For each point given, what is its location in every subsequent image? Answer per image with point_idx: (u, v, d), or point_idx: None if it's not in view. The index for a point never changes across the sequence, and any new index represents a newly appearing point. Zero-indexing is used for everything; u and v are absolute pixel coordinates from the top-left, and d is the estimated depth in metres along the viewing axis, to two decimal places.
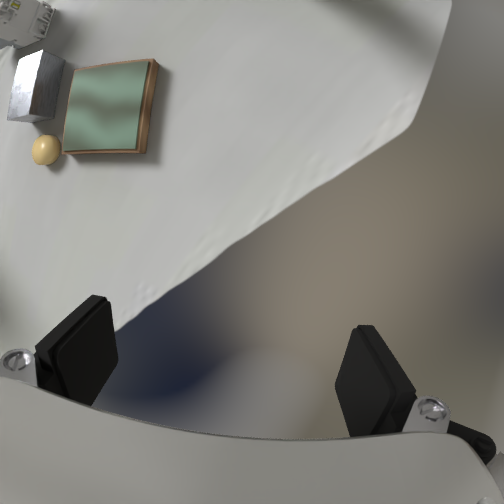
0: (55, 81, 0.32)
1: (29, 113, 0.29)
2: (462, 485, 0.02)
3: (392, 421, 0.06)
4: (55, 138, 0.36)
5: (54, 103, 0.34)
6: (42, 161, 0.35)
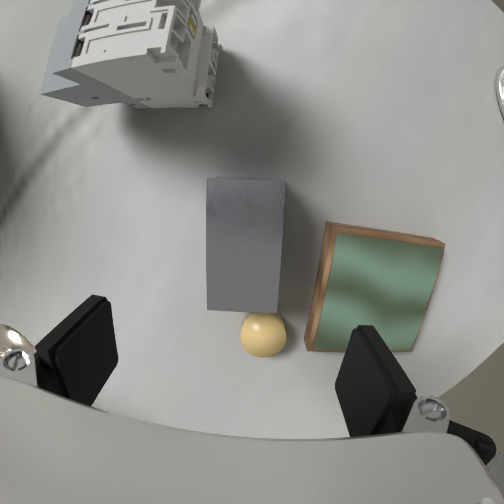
0: None
1: None
2: (462, 485, 0.02)
3: (392, 421, 0.06)
4: (280, 318, 0.31)
5: None
6: (263, 353, 0.31)
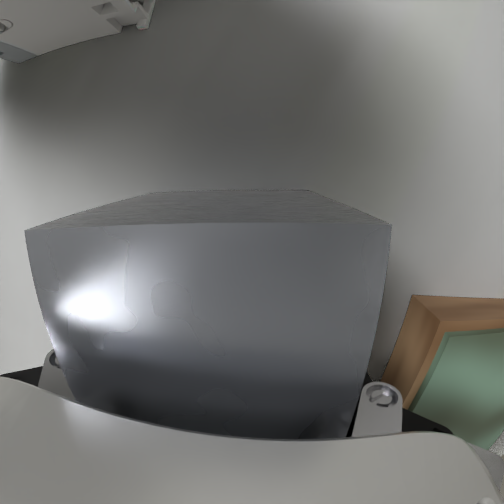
0: None
1: None
2: (462, 485, 0.02)
3: None
4: None
5: None
6: None
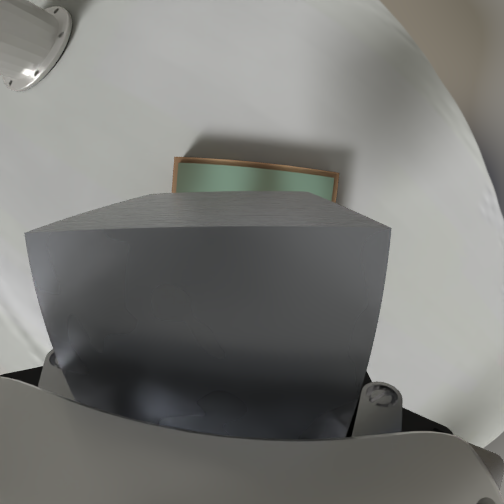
0: None
1: None
2: (462, 485, 0.02)
3: None
4: None
5: None
6: None
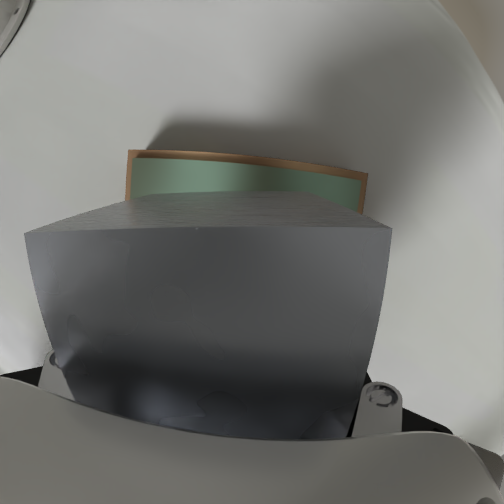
0: None
1: None
2: (462, 485, 0.02)
3: None
4: None
5: None
6: None
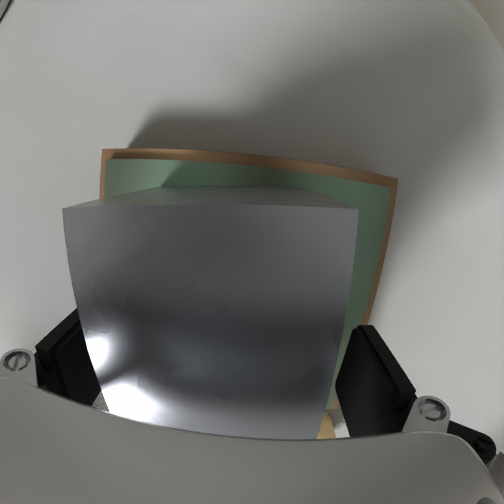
0: None
1: None
2: (462, 485, 0.02)
3: (392, 421, 0.06)
4: None
5: None
6: None
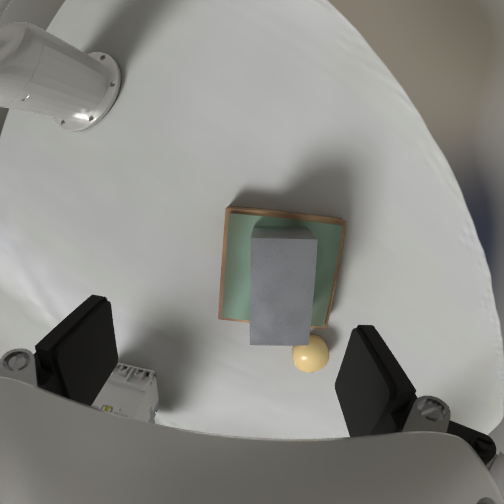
0: None
1: None
2: (462, 485, 0.02)
3: (392, 421, 0.06)
4: None
5: None
6: (325, 357, 0.37)
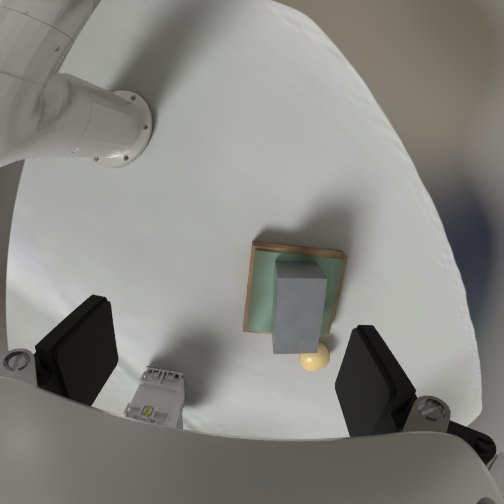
0: None
1: (316, 351, 0.37)
2: (462, 485, 0.02)
3: (392, 421, 0.06)
4: None
5: None
6: (326, 359, 0.46)
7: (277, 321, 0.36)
